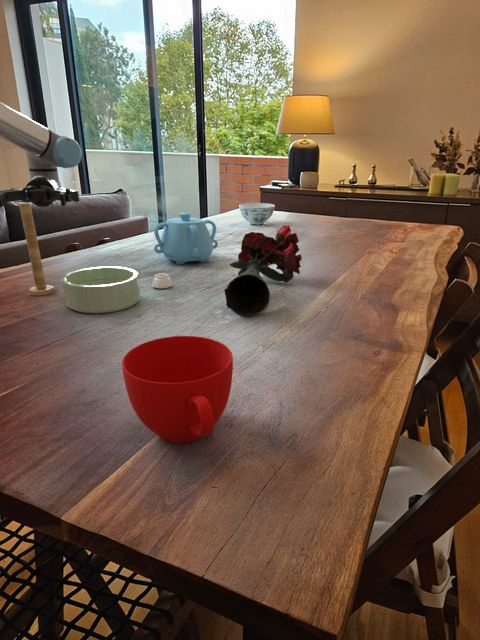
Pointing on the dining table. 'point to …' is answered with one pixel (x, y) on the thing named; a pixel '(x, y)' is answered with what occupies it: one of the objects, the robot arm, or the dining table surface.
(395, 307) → the dining table surface
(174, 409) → the ceramic cup
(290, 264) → the red rose bouquet
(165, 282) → the white jar
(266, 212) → the chinaware
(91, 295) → the bowl
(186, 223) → the decorative pot
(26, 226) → the stirrer
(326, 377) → the dining table surface
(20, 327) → the dining table surface
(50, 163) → the robot arm
